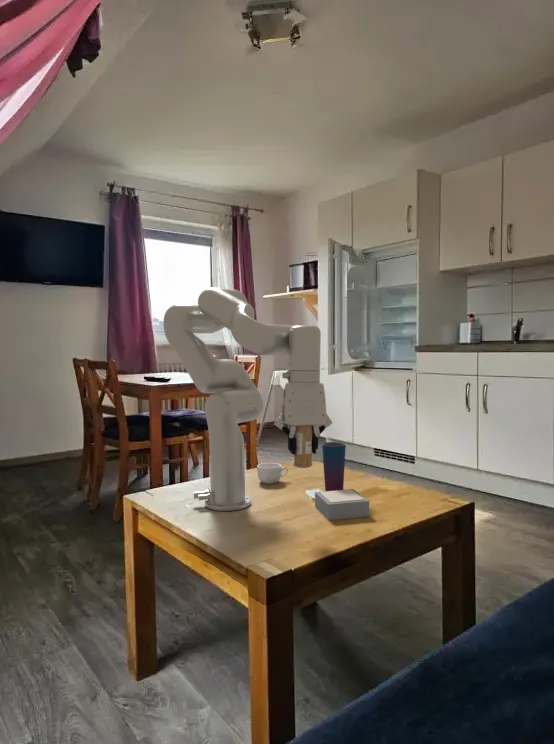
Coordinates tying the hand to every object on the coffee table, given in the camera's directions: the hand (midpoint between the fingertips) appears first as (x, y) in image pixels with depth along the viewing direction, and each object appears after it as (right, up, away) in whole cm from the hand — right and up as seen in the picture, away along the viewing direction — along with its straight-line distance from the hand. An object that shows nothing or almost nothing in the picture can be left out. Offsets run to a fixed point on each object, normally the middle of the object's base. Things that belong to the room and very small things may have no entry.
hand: (302, 452), depth 124 cm
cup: (+10, -17, +25) cm, 32 cm away
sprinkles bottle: (0, -4, 0) cm, 4 cm away
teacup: (-8, -16, +41) cm, 44 cm away
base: (+11, -17, +11) cm, 23 cm away
